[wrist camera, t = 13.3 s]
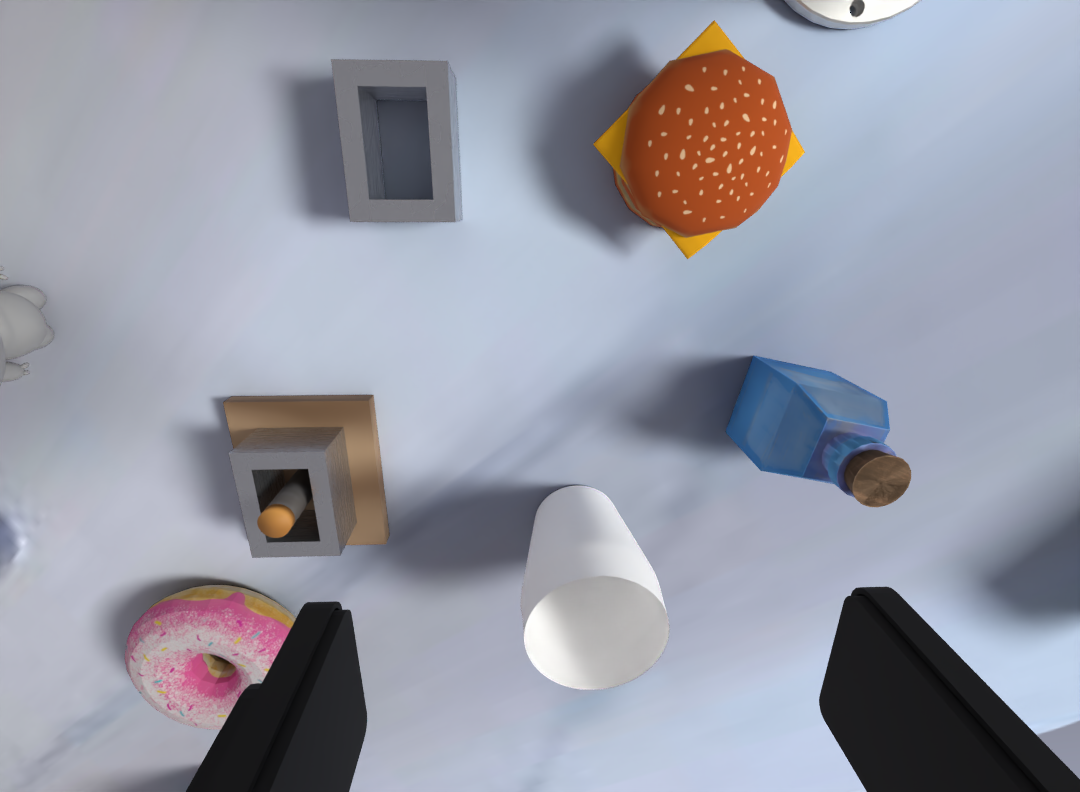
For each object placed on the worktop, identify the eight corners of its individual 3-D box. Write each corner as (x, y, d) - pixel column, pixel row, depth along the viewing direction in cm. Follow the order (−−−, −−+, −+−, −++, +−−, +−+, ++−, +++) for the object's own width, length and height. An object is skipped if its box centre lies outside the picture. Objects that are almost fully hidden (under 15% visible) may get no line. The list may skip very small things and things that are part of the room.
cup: (534, 576, 44) (540, 705, 33) (507, 485, 41) (503, 592, 29) (639, 552, 43) (682, 674, 32) (620, 459, 40) (660, 558, 29)
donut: (120, 628, 44) (72, 679, 40) (221, 541, 42) (184, 583, 37) (247, 713, 48) (218, 768, 43) (348, 638, 46) (328, 687, 41)
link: (257, 428, 37) (228, 453, 33) (343, 426, 37) (324, 451, 33) (277, 524, 40) (252, 557, 36) (356, 522, 40) (340, 555, 36)
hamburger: (576, 159, 33) (591, 147, 27) (692, 33, 31) (737, -12, 25) (672, 265, 35) (706, 277, 29) (785, 155, 33) (847, 143, 27)
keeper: (232, 396, 37) (168, 438, 30) (373, 394, 38) (342, 436, 31) (262, 537, 41) (212, 602, 35) (389, 534, 42) (364, 598, 35)
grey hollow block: (353, 76, 31) (331, 59, 27) (455, 78, 31) (447, 61, 27) (368, 219, 34) (350, 221, 30) (462, 219, 34) (455, 222, 30)
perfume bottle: (725, 431, 40) (807, 521, 29) (753, 355, 38) (853, 419, 27) (799, 446, 41) (907, 538, 29) (831, 371, 39) (960, 440, 27)
